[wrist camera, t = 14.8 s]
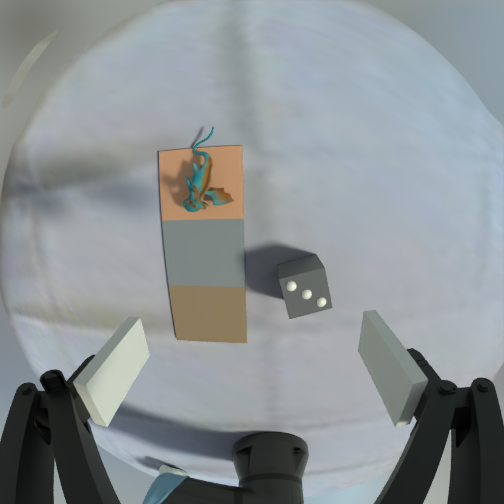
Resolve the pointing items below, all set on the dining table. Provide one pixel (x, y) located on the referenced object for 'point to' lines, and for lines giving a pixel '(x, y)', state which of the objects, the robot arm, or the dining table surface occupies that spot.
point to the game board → (205, 247)
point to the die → (304, 286)
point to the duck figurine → (172, 470)
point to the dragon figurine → (203, 185)
